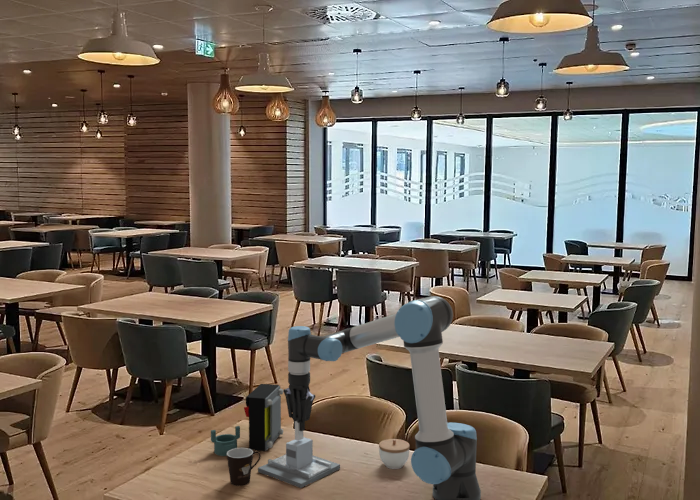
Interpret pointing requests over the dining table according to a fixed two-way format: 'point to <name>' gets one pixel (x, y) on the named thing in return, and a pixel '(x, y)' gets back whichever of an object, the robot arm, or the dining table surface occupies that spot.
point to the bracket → (225, 441)
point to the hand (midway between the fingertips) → (299, 439)
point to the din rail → (304, 471)
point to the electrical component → (264, 416)
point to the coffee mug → (240, 465)
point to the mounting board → (294, 478)
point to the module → (299, 452)
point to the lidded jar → (394, 453)
